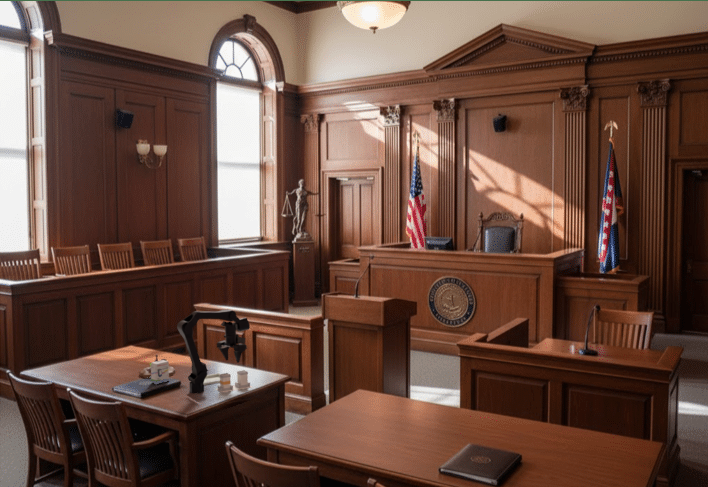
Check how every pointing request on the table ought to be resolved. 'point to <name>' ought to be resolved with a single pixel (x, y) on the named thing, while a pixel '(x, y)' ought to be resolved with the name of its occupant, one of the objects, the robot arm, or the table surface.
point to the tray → (212, 379)
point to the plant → (147, 371)
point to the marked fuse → (225, 381)
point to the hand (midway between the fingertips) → (232, 361)
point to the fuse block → (233, 387)
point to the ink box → (159, 370)
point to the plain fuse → (242, 378)
